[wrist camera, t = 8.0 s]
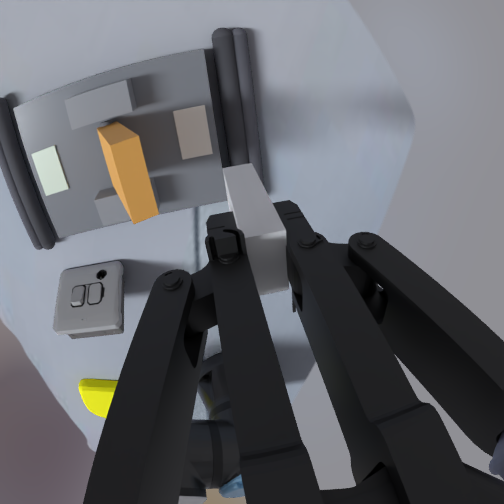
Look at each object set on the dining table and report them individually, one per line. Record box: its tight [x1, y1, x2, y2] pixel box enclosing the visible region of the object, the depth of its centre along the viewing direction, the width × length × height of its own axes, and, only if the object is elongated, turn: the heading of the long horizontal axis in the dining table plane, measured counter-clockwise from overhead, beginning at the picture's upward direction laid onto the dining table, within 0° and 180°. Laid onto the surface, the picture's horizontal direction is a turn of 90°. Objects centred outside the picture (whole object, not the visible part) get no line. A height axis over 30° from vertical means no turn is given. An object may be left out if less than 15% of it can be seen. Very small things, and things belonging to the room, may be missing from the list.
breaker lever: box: [97, 119, 159, 224], centre depth 24 cm, size 7×2×11 cm, turn 7°
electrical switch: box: [53, 261, 125, 339], centre depth 37 cm, size 9×5×9 cm, turn 95°
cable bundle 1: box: [0, 98, 55, 250], centre depth 29 cm, size 20×3×2 cm, turn 7°
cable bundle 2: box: [212, 28, 264, 186], centre depth 31 cm, size 20×3×2 cm, turn 7°
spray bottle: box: [79, 379, 118, 418], centre depth 59 cm, size 3×11×24 cm
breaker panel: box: [13, 49, 228, 238], centre depth 29 cm, size 16×20×5 cm
